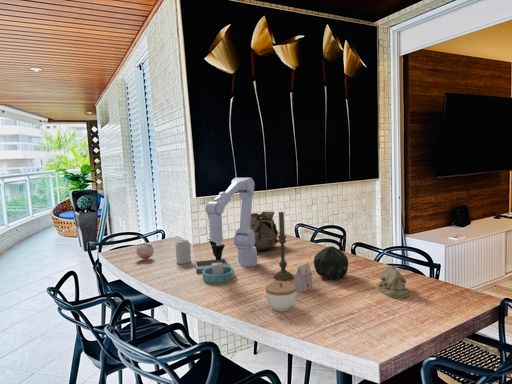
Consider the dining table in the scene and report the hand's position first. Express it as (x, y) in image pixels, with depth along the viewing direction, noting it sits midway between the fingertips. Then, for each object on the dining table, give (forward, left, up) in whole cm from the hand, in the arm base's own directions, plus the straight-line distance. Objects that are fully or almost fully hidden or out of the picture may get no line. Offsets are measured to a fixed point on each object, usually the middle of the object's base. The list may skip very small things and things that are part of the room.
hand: (217, 257), depth 161 cm
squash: (-48, +16, -10) cm, 52 cm away
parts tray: (+1, -16, -9) cm, 18 cm away
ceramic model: (-63, +40, -10) cm, 75 cm away
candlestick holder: (-28, +9, -10) cm, 31 cm away
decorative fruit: (+34, -46, -10) cm, 58 cm away
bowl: (0, 0, -9) cm, 9 cm away
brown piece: (-31, -44, -10) cm, 55 cm away
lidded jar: (-17, +40, -10) cm, 45 cm away
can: (+14, -31, -10) cm, 35 cm away
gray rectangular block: (0, 0, -9) cm, 9 cm away
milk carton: (-31, +26, -10) cm, 42 cm away
